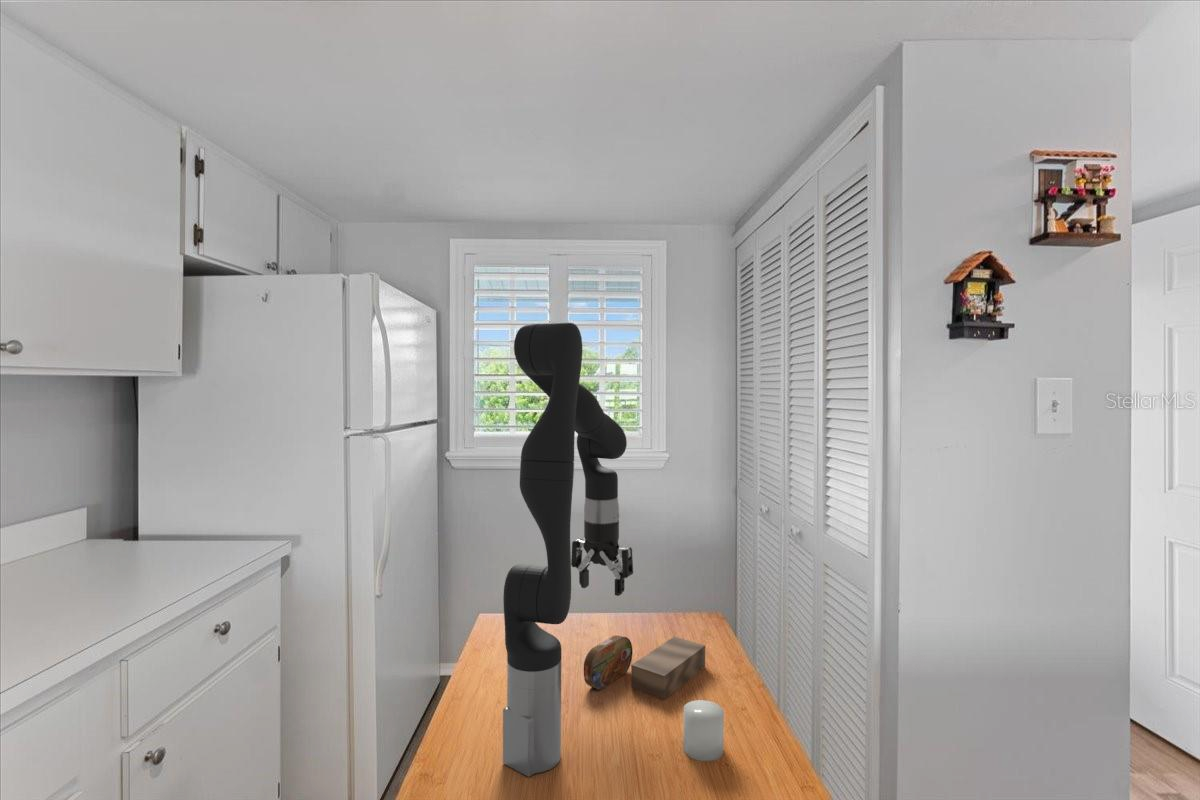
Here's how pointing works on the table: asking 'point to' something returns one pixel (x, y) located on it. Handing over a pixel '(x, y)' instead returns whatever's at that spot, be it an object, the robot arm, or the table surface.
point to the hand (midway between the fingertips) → (601, 590)
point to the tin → (607, 662)
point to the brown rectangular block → (667, 667)
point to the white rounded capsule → (703, 730)
